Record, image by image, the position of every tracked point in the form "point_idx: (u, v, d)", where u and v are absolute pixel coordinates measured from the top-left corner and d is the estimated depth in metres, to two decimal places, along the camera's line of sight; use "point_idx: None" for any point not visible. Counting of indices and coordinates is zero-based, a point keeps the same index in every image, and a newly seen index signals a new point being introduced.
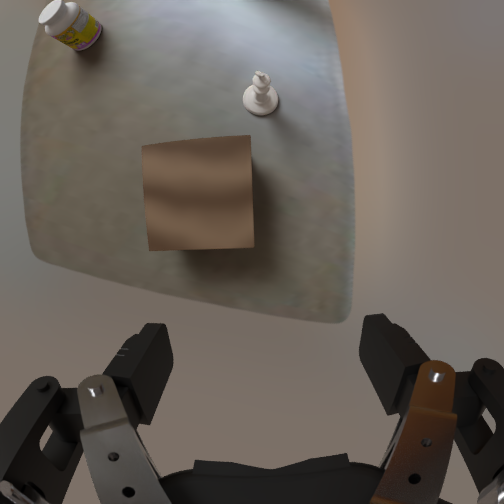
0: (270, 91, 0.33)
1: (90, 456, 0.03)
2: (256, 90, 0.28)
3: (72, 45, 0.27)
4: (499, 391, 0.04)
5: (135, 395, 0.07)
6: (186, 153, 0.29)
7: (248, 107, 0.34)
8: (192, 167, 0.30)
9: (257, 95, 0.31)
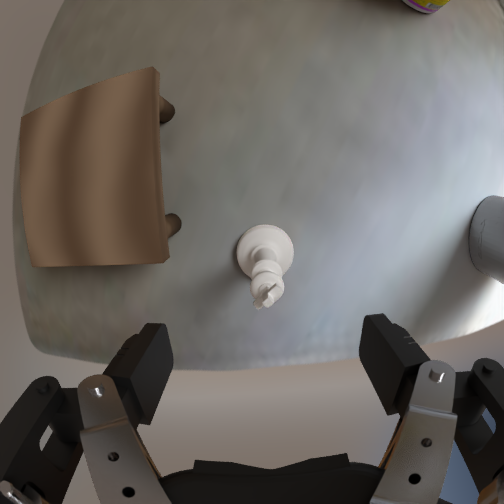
0: None
1: (90, 456, 0.03)
2: (257, 267, 0.18)
3: None
4: (499, 391, 0.04)
5: (135, 395, 0.07)
6: (129, 151, 0.15)
7: (247, 235, 0.23)
8: (107, 165, 0.15)
9: (259, 258, 0.20)
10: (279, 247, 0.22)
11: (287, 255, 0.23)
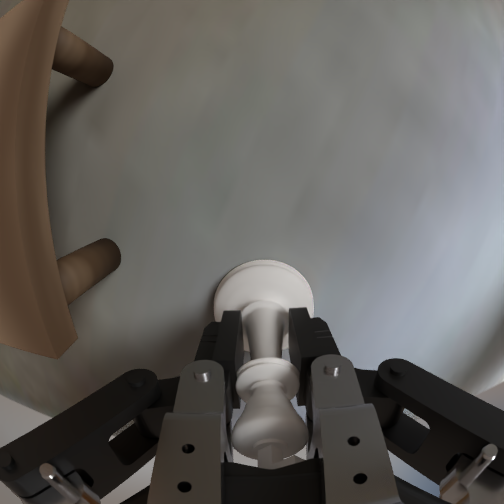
0: (283, 340, 0.13)
1: (164, 441, 0.04)
2: (248, 375, 0.08)
3: None
4: (420, 391, 0.05)
5: (234, 378, 0.08)
6: None
7: (231, 282, 0.12)
8: None
9: (253, 335, 0.10)
10: (290, 303, 0.12)
11: None
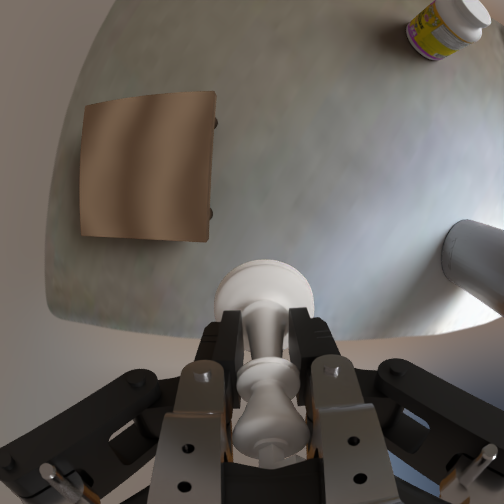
0: (283, 340, 0.13)
1: (164, 441, 0.04)
2: (249, 375, 0.08)
3: (415, 20, 0.19)
4: (420, 391, 0.05)
5: (234, 378, 0.08)
6: (190, 155, 0.21)
7: (231, 281, 0.12)
8: (170, 162, 0.21)
9: (253, 335, 0.10)
10: (291, 303, 0.12)
11: None
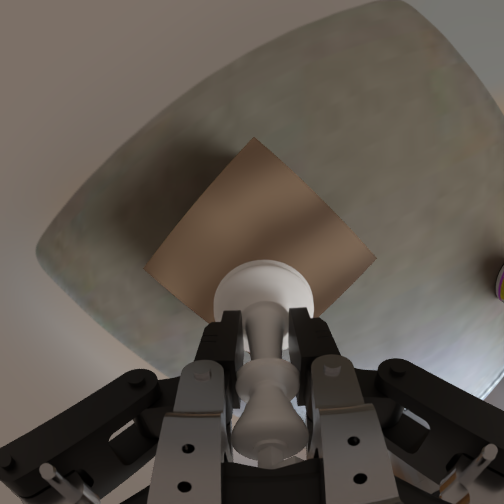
0: (283, 341, 0.13)
1: (164, 441, 0.04)
2: (248, 376, 0.08)
3: None
4: (420, 391, 0.05)
5: (234, 378, 0.08)
6: (313, 297, 0.21)
7: (230, 282, 0.12)
8: None
9: (253, 335, 0.10)
10: (291, 303, 0.12)
11: None
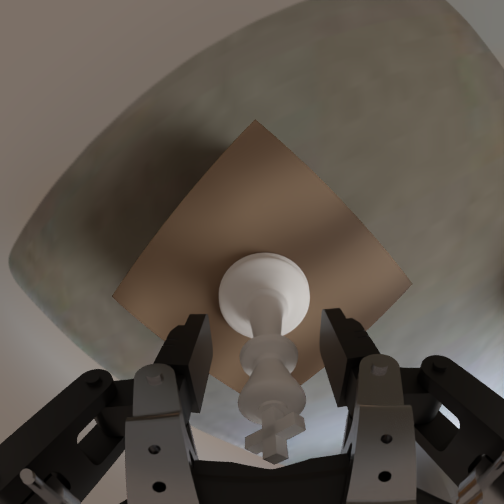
0: (282, 326, 0.14)
1: (130, 445, 0.04)
2: (252, 350, 0.09)
3: None
4: (456, 388, 0.05)
5: (190, 382, 0.08)
6: None
7: (234, 272, 0.14)
8: (305, 325, 0.15)
9: (255, 318, 0.12)
10: (288, 291, 0.14)
11: (301, 303, 0.14)
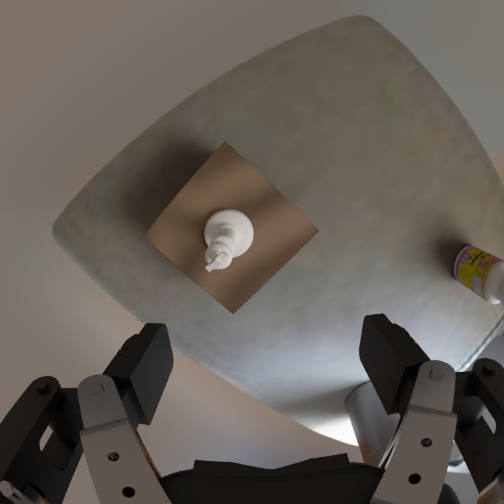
0: (237, 249, 0.27)
1: (90, 456, 0.03)
2: (214, 241, 0.22)
3: (473, 253, 0.32)
4: (499, 391, 0.04)
5: (135, 395, 0.07)
6: (269, 259, 0.28)
7: (212, 218, 0.26)
8: (252, 252, 0.28)
9: None
10: (240, 228, 0.26)
11: (247, 235, 0.27)
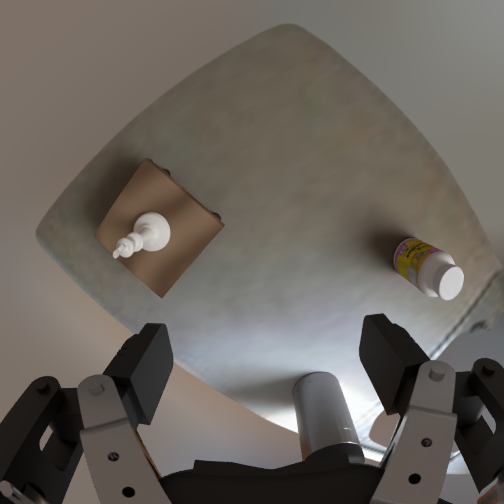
0: (156, 244, 0.32)
1: (90, 456, 0.03)
2: (127, 237, 0.27)
3: (411, 245, 0.36)
4: (499, 391, 0.04)
5: (135, 395, 0.07)
6: (184, 252, 0.34)
7: (138, 220, 0.32)
8: (171, 246, 0.33)
9: (138, 233, 0.30)
10: (157, 227, 0.32)
11: (163, 233, 0.32)
